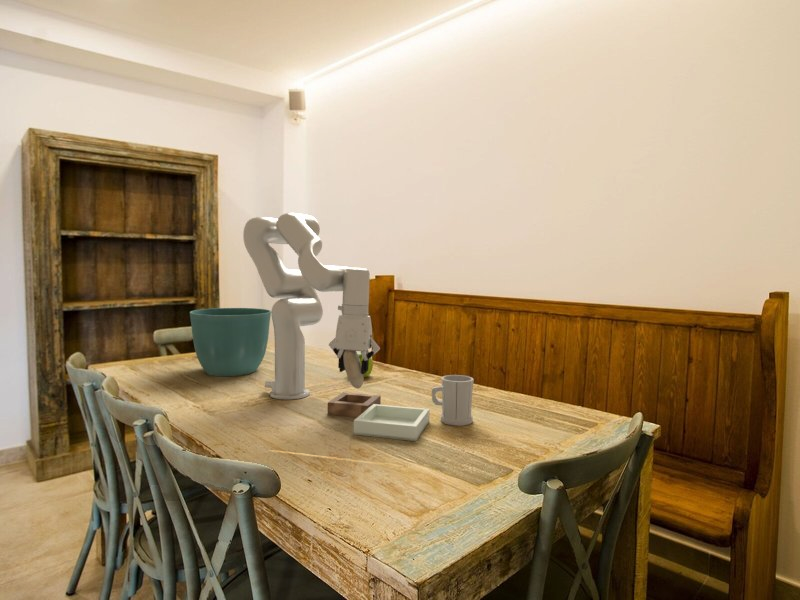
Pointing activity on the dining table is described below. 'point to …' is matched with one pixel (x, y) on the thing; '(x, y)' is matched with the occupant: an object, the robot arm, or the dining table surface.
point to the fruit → (368, 366)
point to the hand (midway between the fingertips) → (353, 371)
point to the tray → (392, 422)
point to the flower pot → (230, 339)
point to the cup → (455, 399)
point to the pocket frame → (352, 404)
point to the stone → (353, 368)
